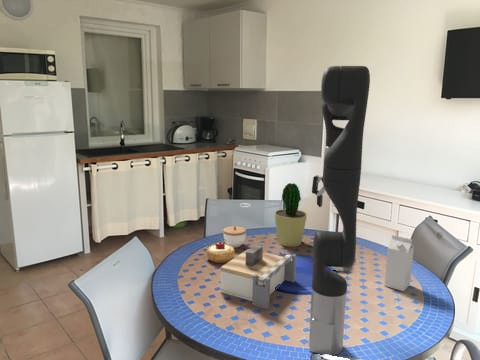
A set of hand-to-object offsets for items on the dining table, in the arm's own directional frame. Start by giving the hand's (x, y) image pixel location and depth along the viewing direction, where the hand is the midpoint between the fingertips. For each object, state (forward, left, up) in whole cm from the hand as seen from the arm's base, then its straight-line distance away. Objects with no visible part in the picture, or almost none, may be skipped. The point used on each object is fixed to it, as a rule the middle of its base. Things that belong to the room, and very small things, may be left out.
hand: (332, 208), depth 131 cm
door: (-6, +26, -24) cm, 36 cm away
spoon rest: (+35, +6, -33) cm, 48 cm away
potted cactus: (+44, +32, -32) cm, 63 cm away
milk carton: (+22, -20, -32) cm, 44 cm away
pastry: (+10, +50, -32) cm, 60 cm away
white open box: (-6, +24, -32) cm, 41 cm away
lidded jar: (+27, +53, -32) cm, 68 cm away
